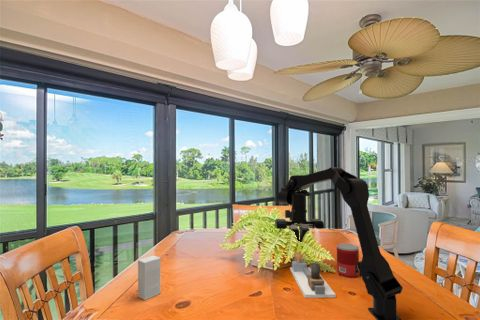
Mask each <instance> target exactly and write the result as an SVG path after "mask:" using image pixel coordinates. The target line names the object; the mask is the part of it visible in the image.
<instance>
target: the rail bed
mask: <svg viewBox="0 0 480 320" xmlns="http://www.w3.org/2000/svg"><path fill="white" fill-rule="evenodd" d="M310 267H311V266H307V263H306V261H305V260H296V261H295V260H294V261H293V260H292V261H291V266H290V268H289V271H290V273H291V274H292V276H293V278H294V281H295V282H296V284H297V285H298V288H299V289H300V292H301V293H302V295H303V296H304V298H305V299H314V298H315V299H317V298H318V299H319V298H320V299H321V298H322V299H323V298H325V299H326V298H329V299H331V298H336V296H337V295H336V293H335V292H334V291H333V289H332V288H331V287H330V286H329V284H328V283H327V281H326V280H325V279H324V278H323V276H322V275H321V274H320V276H321V277H322V279H323V280H324V286H321V285H314V290H312V289H311V288H310V286H309V285H308V279H307V275H311V268H310Z"/></svg>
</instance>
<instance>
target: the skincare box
mask: <svg viewBox="0 0 480 320" xmlns="http://www.w3.org/2000/svg"><path fill="white" fill-rule="evenodd" d="M161 259H162V258H161V257H159V256H157V255H151V256H147V257H144V258H143V257H142V258H140V259H138V260H137V296H138V298H140V299H141V300H143V301H147V300H149V299H151V298H154V297H156V296H158V295H160V294H161V291H162V290H161V287H162V284H161V277H162V276H161V272H162V271H161V270H162V269H161V268H162V267H161Z"/></svg>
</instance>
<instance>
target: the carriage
mask: <svg viewBox="0 0 480 320" xmlns="http://www.w3.org/2000/svg"><path fill="white" fill-rule="evenodd" d="M310 265H311V266H310V267H311V275H307V279H308V285H309V286H310V288H311V289H312V290H314V285H321V286H324V280H325V279H324V278H323V276H322V275H321V274H320V272H321V271H320V269H321V268H320V263H317V262H311V264H310ZM320 275H321V276H322V277H321V276H320ZM322 278H323V279H324V280H323V279H322Z"/></svg>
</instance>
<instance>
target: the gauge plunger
mask: <svg viewBox="0 0 480 320" xmlns="http://www.w3.org/2000/svg"><path fill="white" fill-rule="evenodd" d="M300 253H301V252H296V253H295V259H297V260H302V259H303V253H302V254H300Z"/></svg>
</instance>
